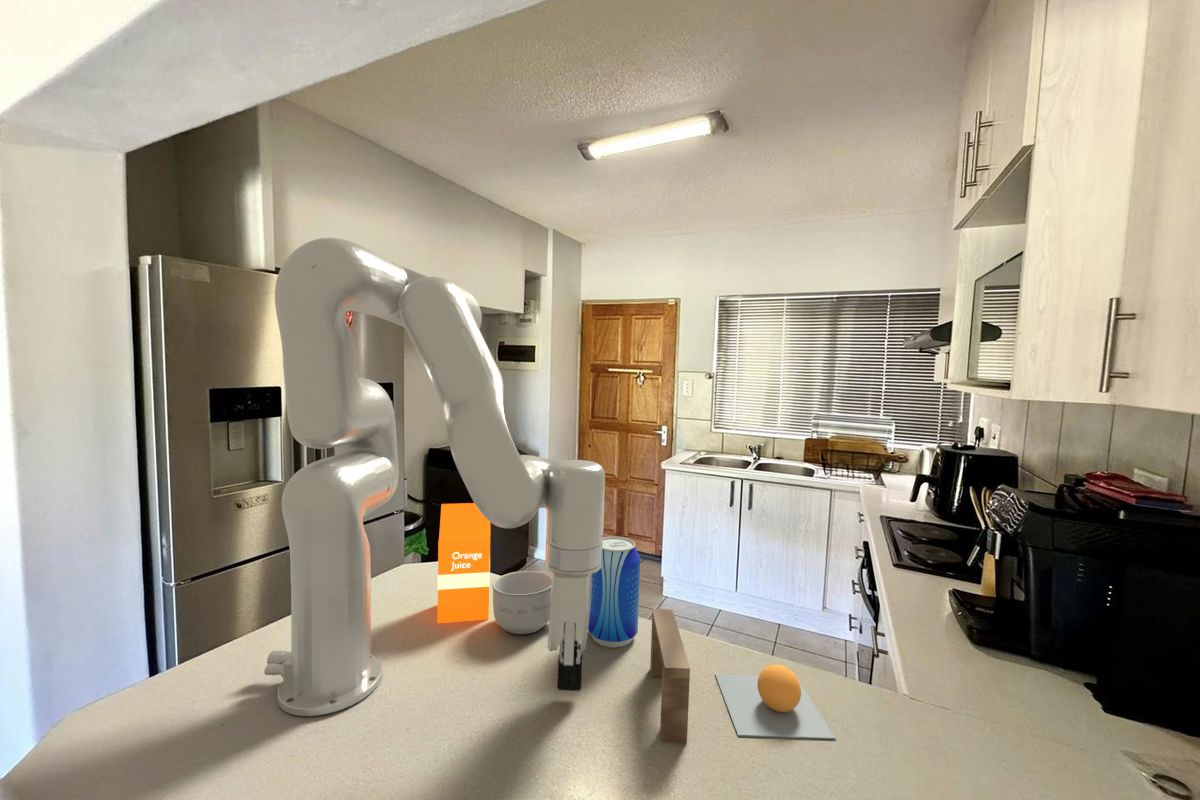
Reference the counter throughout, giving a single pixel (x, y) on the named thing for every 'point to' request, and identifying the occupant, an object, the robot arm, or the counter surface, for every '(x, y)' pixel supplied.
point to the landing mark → (769, 712)
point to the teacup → (522, 601)
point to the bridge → (670, 675)
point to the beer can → (615, 594)
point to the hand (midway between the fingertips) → (569, 686)
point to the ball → (779, 688)
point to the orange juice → (463, 564)
